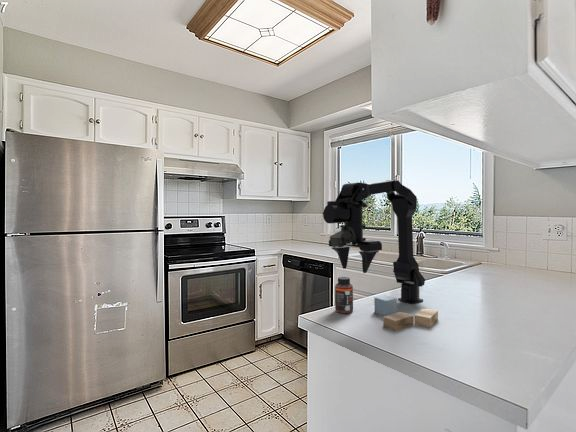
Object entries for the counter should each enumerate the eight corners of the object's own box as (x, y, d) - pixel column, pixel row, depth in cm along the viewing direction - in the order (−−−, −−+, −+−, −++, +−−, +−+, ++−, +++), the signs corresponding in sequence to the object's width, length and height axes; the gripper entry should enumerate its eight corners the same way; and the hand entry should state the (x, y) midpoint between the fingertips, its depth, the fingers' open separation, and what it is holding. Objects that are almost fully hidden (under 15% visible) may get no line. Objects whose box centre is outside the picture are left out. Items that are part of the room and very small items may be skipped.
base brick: (401, 321, 101) (401, 311, 101) (413, 325, 98) (413, 315, 97) (383, 326, 97) (383, 316, 97) (395, 331, 93) (395, 321, 93)
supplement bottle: (353, 314, 108) (352, 280, 107) (334, 313, 109) (334, 279, 108) (353, 309, 113) (352, 276, 113) (335, 308, 115) (335, 275, 114)
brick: (423, 317, 104) (423, 308, 104) (438, 320, 101) (437, 311, 101) (414, 325, 98) (414, 315, 98) (430, 328, 95) (430, 318, 95)
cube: (384, 309, 112) (384, 295, 112) (396, 313, 108) (396, 298, 108) (374, 312, 110) (374, 297, 110) (386, 316, 105) (386, 300, 105)
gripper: (315, 222, 110) (316, 269, 110) (355, 224, 94) (356, 278, 94) (341, 221, 116) (341, 265, 116) (382, 222, 100) (383, 274, 100)
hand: (354, 270), depth 106 cm, fingers open, 9 cm apart
